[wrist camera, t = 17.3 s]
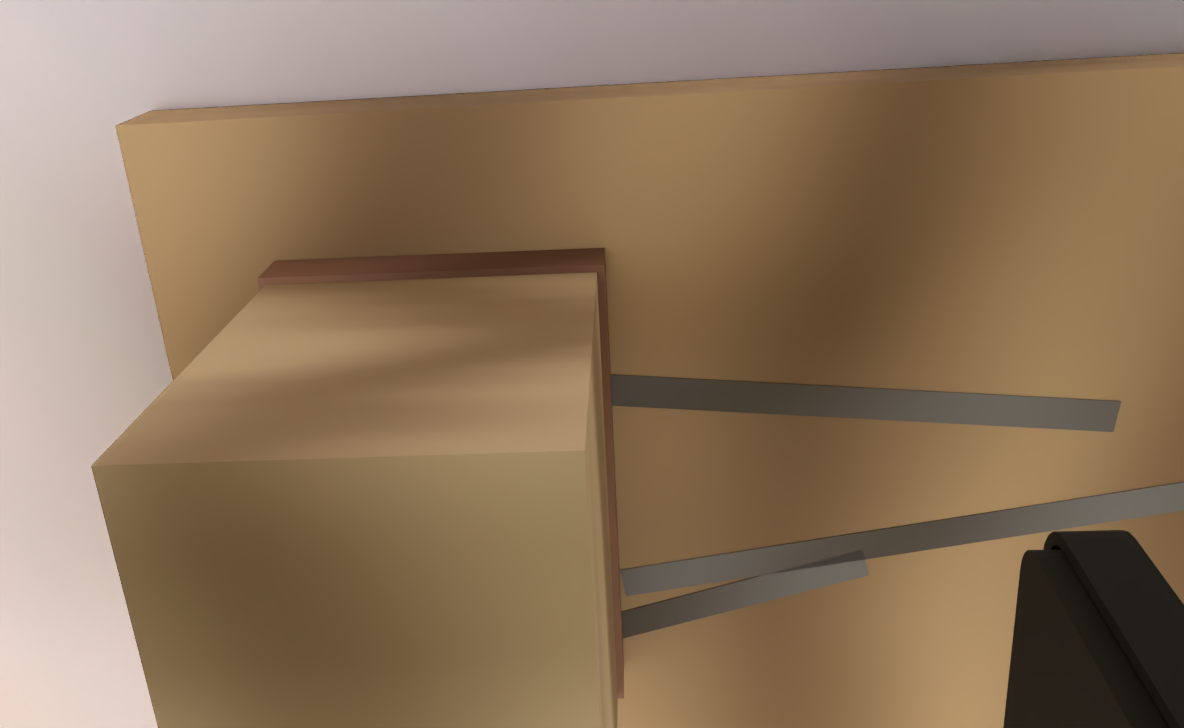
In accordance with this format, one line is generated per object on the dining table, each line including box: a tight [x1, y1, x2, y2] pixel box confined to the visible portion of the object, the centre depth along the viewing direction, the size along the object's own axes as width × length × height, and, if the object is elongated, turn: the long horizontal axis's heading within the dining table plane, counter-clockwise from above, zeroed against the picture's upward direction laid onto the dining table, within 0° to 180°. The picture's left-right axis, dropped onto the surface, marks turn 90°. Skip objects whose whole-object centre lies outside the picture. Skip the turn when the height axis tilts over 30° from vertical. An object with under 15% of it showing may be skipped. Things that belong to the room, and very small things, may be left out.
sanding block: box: [91, 248, 624, 728], centre depth 14 cm, size 5×7×6 cm, turn 3°
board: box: [116, 53, 1184, 728], centre depth 17 cm, size 20×11×1 cm, turn 93°
